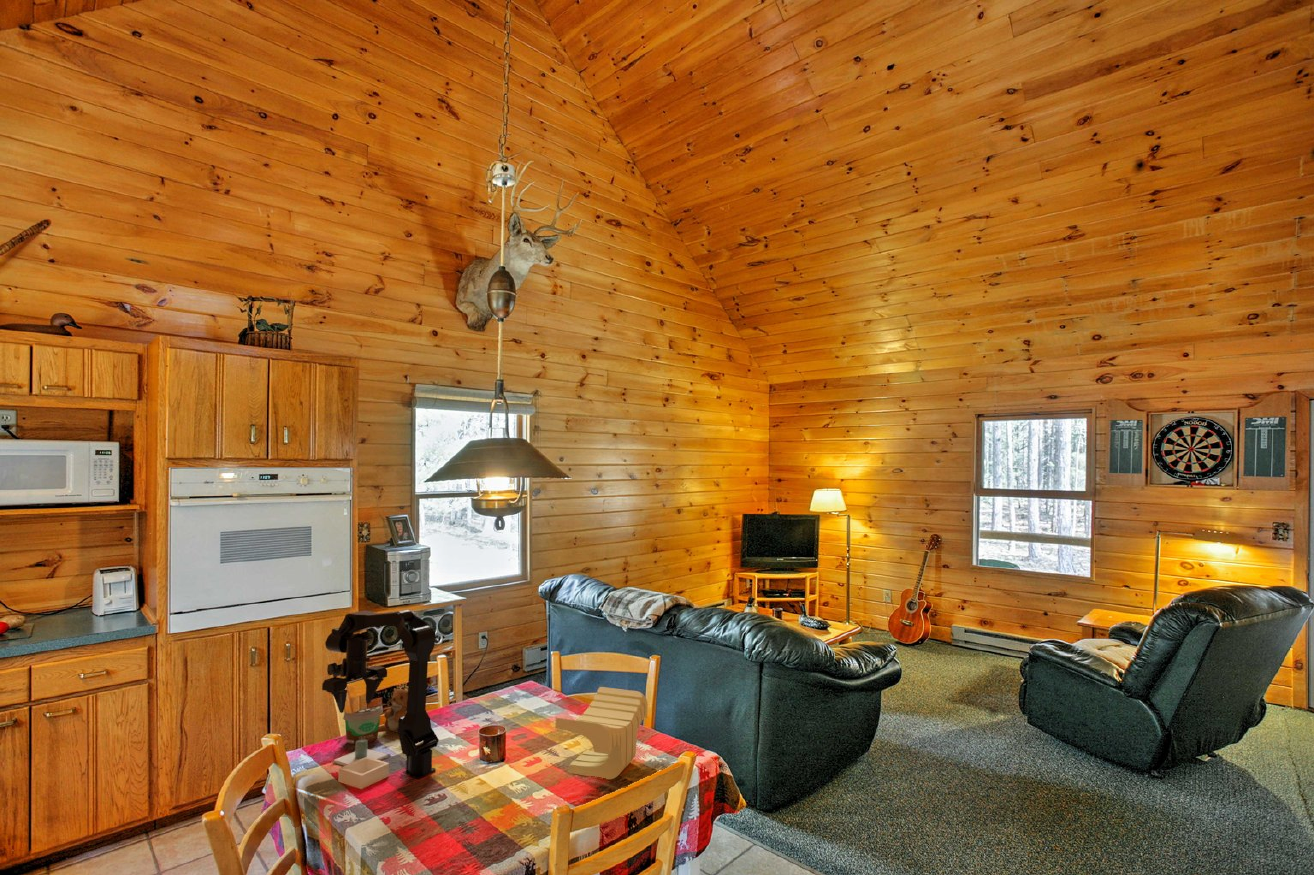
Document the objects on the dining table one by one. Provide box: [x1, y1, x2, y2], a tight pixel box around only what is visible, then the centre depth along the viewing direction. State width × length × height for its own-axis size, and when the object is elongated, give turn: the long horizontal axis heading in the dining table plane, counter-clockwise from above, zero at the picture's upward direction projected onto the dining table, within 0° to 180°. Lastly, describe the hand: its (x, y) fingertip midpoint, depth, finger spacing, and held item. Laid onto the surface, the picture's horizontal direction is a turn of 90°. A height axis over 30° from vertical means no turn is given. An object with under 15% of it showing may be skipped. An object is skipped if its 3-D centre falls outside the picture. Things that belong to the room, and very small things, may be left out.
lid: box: [333, 739, 388, 766], centre depth 198 cm, size 10×10×5 cm
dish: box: [337, 757, 390, 790], centre depth 185 cm, size 9×9×4 cm
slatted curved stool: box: [554, 686, 648, 780], centre depth 197 cm, size 30×16×18 cm, turn 161°
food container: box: [342, 702, 384, 745], centre depth 212 cm, size 12×6×10 cm, turn 143°
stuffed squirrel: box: [378, 687, 408, 733], centre depth 225 cm, size 10×14×13 cm
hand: (355, 707), depth 203 cm, fingers open, 9 cm apart
